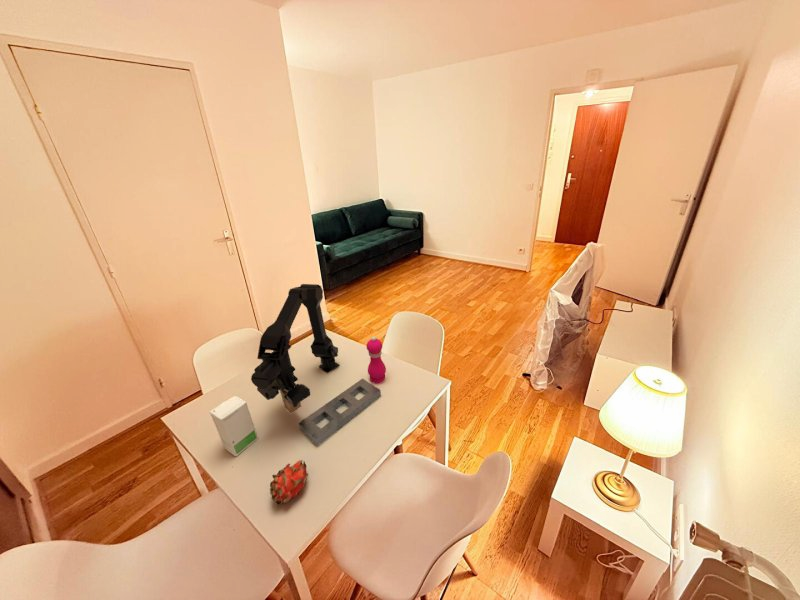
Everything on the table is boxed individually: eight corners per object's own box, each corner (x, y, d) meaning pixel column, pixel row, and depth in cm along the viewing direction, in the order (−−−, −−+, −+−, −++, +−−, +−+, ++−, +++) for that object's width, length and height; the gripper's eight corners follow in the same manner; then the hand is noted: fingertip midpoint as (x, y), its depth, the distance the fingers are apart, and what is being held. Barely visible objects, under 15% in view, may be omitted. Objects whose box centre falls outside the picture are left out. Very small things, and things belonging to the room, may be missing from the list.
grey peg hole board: (300, 429, 99) (298, 423, 98) (363, 384, 117) (362, 378, 116) (317, 446, 93) (315, 439, 92) (381, 396, 111) (380, 389, 110)
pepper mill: (387, 372, 123) (384, 331, 114) (385, 385, 117) (381, 342, 108) (370, 372, 124) (365, 331, 115) (367, 384, 117) (361, 342, 109)
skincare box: (235, 457, 91) (219, 421, 84) (223, 448, 94) (207, 412, 87) (259, 437, 97) (246, 401, 90) (247, 429, 100) (234, 394, 94)
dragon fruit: (272, 515, 77) (305, 479, 87) (290, 513, 72) (322, 475, 83) (255, 487, 77) (290, 454, 87) (272, 483, 72) (307, 449, 83)
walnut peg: (284, 407, 102) (279, 389, 98) (295, 400, 105) (290, 383, 101) (290, 413, 99) (285, 395, 96) (301, 406, 102) (296, 388, 99)
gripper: (244, 367, 95) (256, 404, 102) (271, 394, 83) (284, 433, 90) (276, 351, 102) (286, 386, 109) (306, 373, 91) (315, 411, 98)
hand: (292, 403), depth 101 cm, fingers closed on walnut peg, 4 cm apart
